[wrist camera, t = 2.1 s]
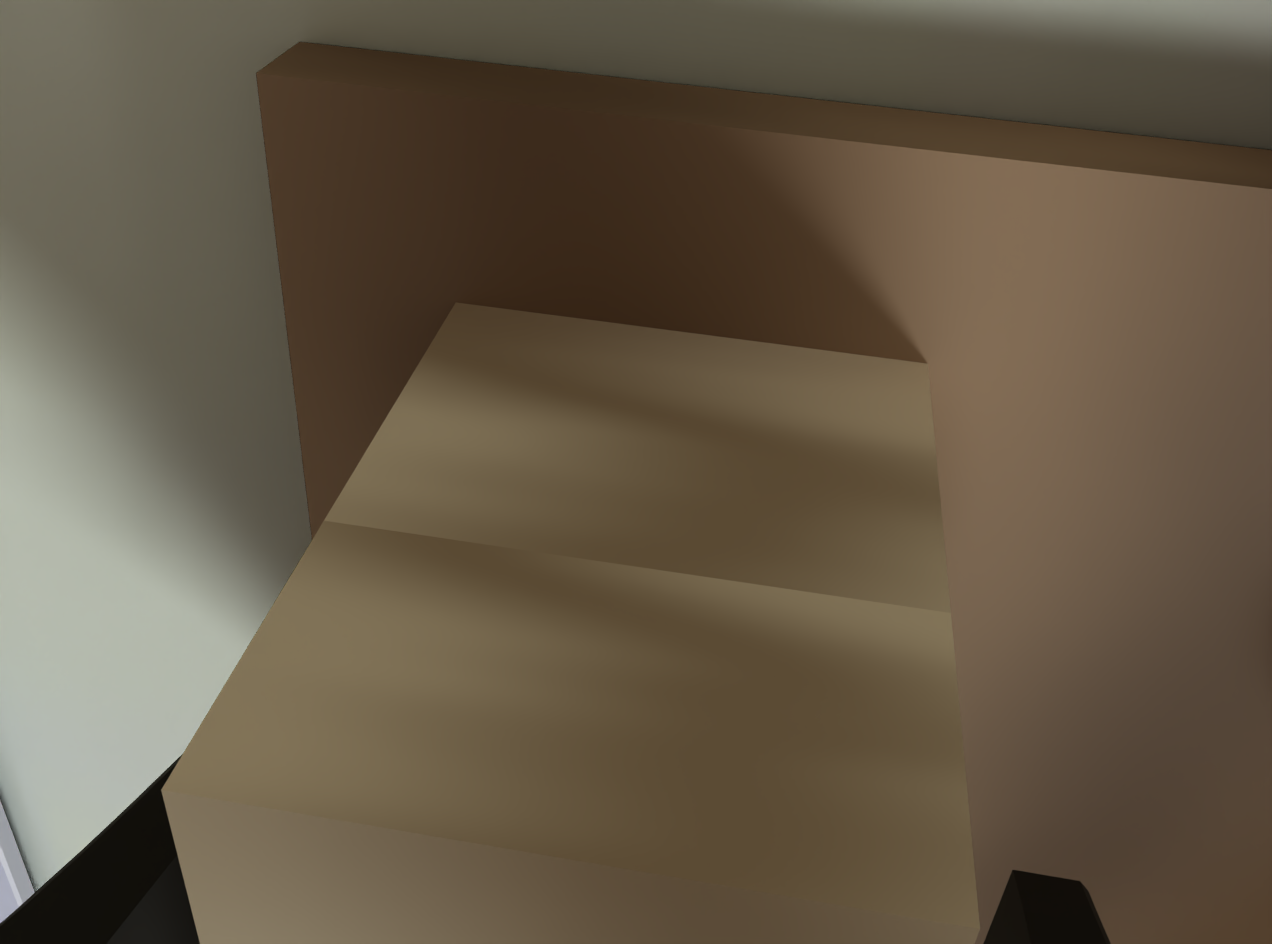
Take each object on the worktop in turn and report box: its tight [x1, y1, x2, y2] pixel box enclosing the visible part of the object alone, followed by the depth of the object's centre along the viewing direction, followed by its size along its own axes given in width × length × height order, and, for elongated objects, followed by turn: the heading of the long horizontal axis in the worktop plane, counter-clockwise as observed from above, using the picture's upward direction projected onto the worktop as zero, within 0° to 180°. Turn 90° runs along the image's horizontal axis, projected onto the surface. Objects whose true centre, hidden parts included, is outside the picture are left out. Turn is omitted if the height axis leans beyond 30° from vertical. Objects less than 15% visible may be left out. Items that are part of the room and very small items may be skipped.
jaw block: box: [161, 303, 980, 944], centre depth 12 cm, size 4×9×6 cm, turn 177°
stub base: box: [256, 42, 1272, 944], centre depth 13 cm, size 18×13×4 cm
